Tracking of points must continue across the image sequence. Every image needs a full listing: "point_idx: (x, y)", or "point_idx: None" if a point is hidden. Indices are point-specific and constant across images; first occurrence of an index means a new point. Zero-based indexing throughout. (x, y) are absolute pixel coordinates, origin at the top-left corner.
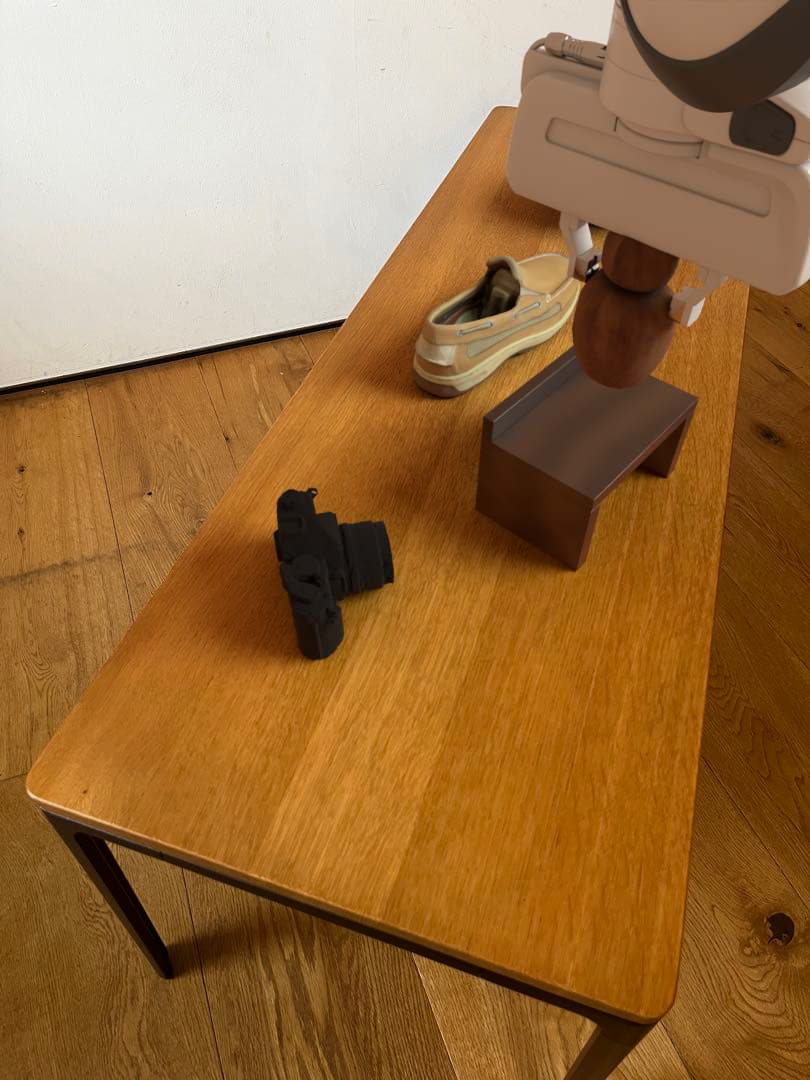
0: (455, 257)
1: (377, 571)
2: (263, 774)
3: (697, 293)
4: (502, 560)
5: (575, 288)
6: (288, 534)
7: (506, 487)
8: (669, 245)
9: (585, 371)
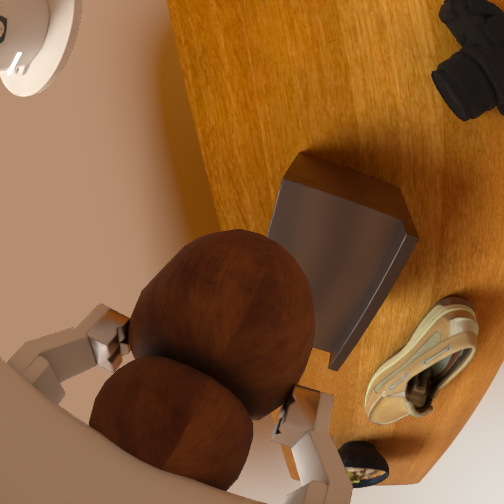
0: (446, 409)
1: (446, 64)
2: None
3: (58, 342)
4: (359, 140)
5: (367, 404)
6: None
7: (376, 193)
8: (53, 425)
9: (282, 247)
